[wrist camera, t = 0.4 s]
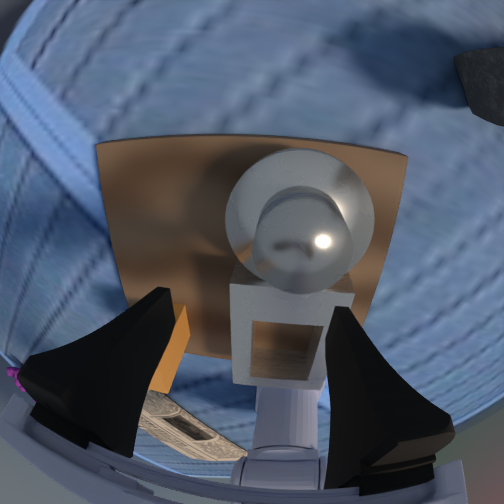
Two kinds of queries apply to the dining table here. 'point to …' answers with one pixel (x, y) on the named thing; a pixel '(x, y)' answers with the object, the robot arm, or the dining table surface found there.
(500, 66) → the hammer
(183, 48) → the dining table surface
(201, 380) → the dining table surface
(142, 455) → the dining table surface
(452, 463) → the robot arm
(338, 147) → the board
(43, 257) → the dining table surface
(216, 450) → the newspaper
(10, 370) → the purple coral
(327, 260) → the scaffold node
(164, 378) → the tan rectangular prism
